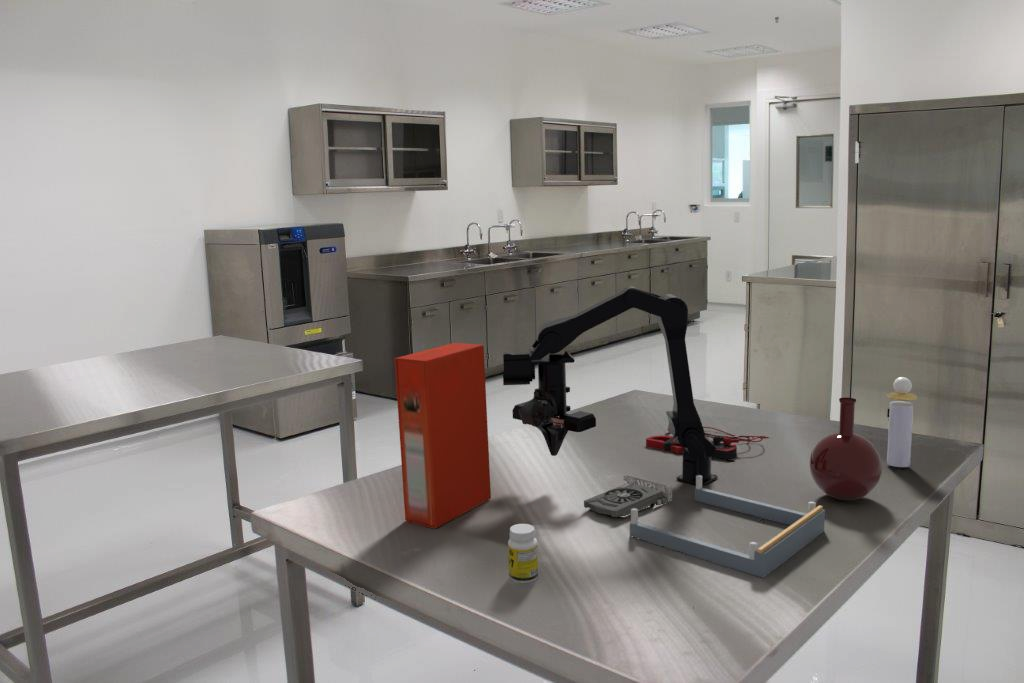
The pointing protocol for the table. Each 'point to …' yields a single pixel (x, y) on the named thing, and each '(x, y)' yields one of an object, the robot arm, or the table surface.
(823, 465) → the round-bottom flask
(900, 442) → the perfume bottle
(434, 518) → the file binder
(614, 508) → the graphics card
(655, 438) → the digital clamp meter
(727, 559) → the frame
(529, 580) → the supplement bottle
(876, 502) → the table surface
